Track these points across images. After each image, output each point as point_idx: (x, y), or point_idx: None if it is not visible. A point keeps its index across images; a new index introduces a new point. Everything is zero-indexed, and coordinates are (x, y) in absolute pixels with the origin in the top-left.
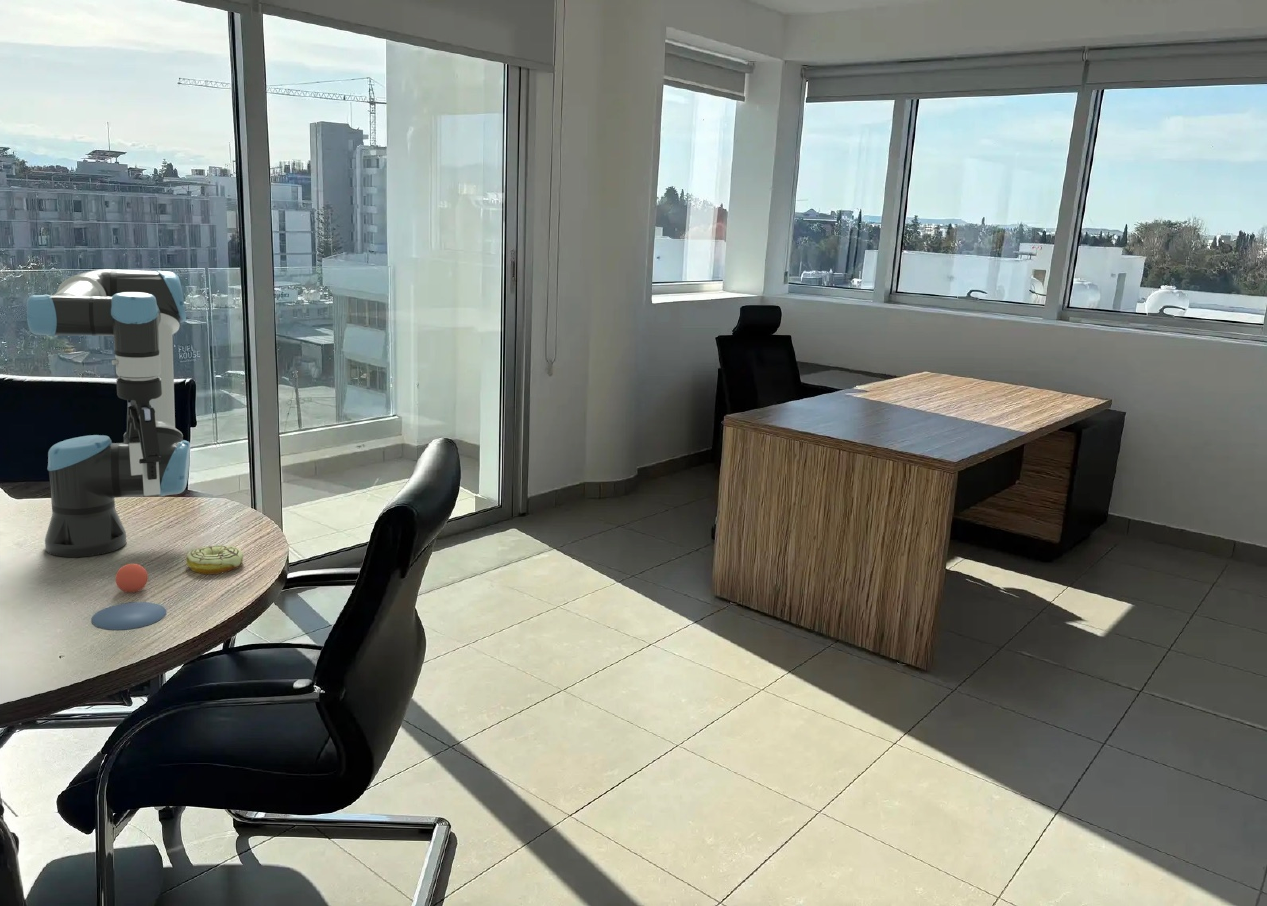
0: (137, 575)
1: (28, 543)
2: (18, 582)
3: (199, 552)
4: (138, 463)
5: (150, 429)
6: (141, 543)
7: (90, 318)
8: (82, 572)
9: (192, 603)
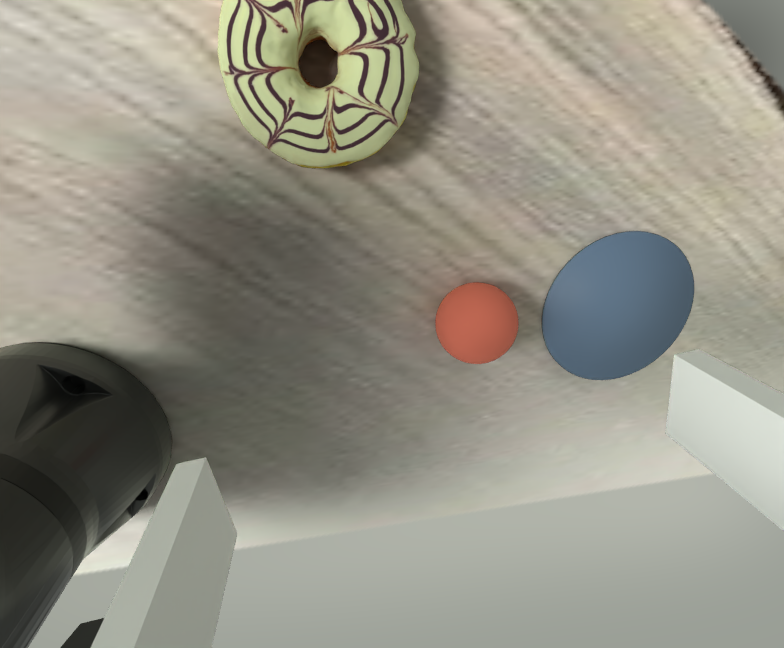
0: (516, 313)
1: None
2: (327, 523)
3: (328, 120)
4: (199, 576)
5: None
6: (44, 300)
7: None
8: (290, 422)
9: (608, 164)
